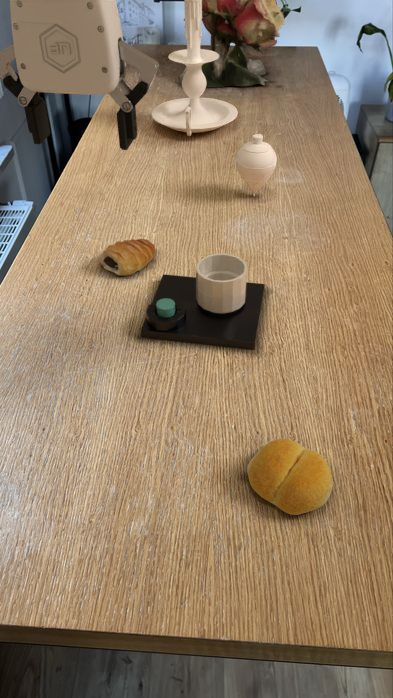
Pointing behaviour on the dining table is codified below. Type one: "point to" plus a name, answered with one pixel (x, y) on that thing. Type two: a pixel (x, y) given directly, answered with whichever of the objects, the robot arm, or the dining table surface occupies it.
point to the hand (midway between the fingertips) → (84, 142)
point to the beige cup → (221, 283)
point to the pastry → (127, 256)
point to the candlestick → (194, 85)
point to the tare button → (165, 307)
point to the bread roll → (290, 476)
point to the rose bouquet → (238, 39)
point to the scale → (203, 317)
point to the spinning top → (256, 162)
